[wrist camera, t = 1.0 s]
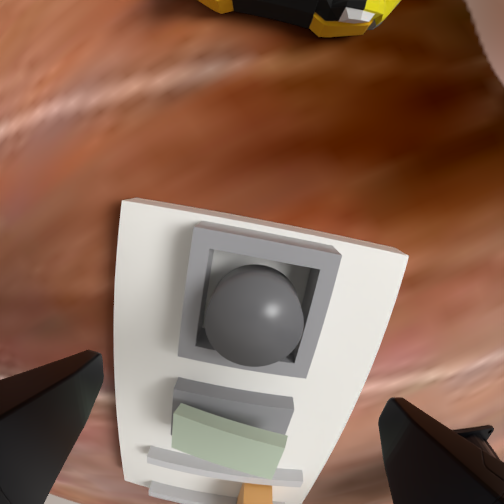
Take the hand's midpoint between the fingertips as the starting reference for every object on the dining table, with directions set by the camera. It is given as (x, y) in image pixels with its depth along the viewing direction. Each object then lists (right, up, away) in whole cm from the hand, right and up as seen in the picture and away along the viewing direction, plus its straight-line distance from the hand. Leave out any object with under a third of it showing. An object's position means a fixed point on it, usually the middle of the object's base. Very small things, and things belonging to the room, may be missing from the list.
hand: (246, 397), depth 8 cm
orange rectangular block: (0, -14, +12) cm, 18 cm away
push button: (0, +1, +7) cm, 7 cm away
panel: (-1, -5, +12) cm, 13 cm away
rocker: (-1, -6, +7) cm, 10 cm away
